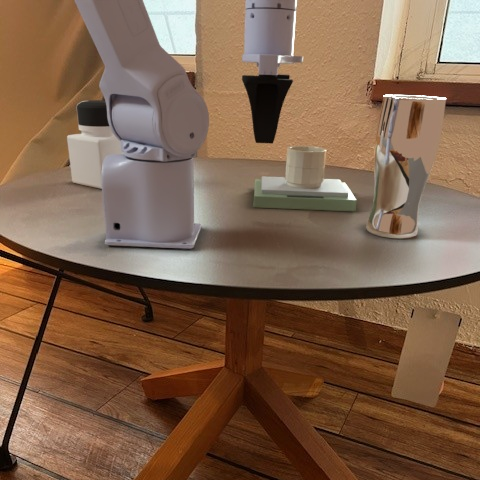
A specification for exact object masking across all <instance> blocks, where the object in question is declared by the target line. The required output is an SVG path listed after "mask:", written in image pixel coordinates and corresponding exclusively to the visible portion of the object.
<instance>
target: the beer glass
mask: <svg viewBox="0 0 480 480" xmlns="http://www.w3.org/2000/svg"><path fill="white" fill-rule="evenodd" d="M446 102H447V98H446V97H439V96H429V95H428V96H427V95H410V94H409V95H408V94H385V95H383V99H382V104H381V107H380V113H379V116H378V121H377V127H376V132H375V139H374V150H373V169H374V170H373V174H374V175H373V177H374V181H373V182H374V190H373V191H374V195H373V202H372V206H371V210H370V213H369V216H368V219H367V222H366V225H365V229H366V230H367V232H369V233H370V234H371V235H375V236H378V237H381V238H387V239H397V240H399V239H400V240H401V239H402V240H403V239H404V240H405V239H412V238H414V237H416V236H417V235H418V234H419V233H418V232H419V210H420V204H421V200H422V196H423V194H424V191H425V187H426V185H427V183H428V180H429V178H430V175H431V173H432V172H431V171H432V170H433V167H434V164H435V161H436V159H437V155H438V152H439V147H440V143H441V138H442V134H443V133H442V132H443V127H444V119H445V109H446Z"/></svg>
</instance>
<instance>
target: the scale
mask: <svg viewBox="0 0 480 480" xmlns="http://www.w3.org/2000/svg"><path fill="white" fill-rule="evenodd" d="M253 190H254V191H253V208H257V209H259V208H260V209H281V210H282V209H283V210H307V211H308V210H309V211H332V212H333V211H334V212H356V210H357V203H358V200H357V198H356V196H354V194H353V192H352V191H351V189H350V188H349V186H348V185H347V184H346V182H342V181H341V179H340V178H339V179H338V178H324V181H323V182H322V183H321V186H320V187H318V188H310V189H305V188H295V187H291V186H288V185H287V184H286V180H285V176H263V175H262V176H261V179H257V178H255V180H254V189H253Z"/></svg>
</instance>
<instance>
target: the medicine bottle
mask: <svg viewBox="0 0 480 480" xmlns="http://www.w3.org/2000/svg"><path fill="white" fill-rule="evenodd" d="M76 115H77V124H78V125H77V126H78V131H80V132H81V133H75V134H68V135H67V136H66V141H67V149H68V158H69V166H70V175H71V181H72V183H73V184H77V185H82V186H86V187H90V188H95V189H99V190H102V185H101V175H102V165H103V161H104V159H105V157H106V156H107V155H110V154H124V152H122V151H121V141H120V140H118V139H117V138H116V137H115V135H114V134H113V132H112V131H111V129H110V126H109V123H108V118H107V106H106V101H105V100H101V99H91V100H82V101H80V102H79V103H77V105H76Z"/></svg>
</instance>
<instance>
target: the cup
mask: <svg viewBox="0 0 480 480" xmlns="http://www.w3.org/2000/svg"><path fill="white" fill-rule="evenodd" d="M326 159H327V148H324V147H321V146H313V145H312V146H311V145H291V146H288V147H286V157H285V172H284V177H285V180H286V184H287V185H288V186H291V187H295V188H305V189H310V188H318V187H320V186H321V183H322V182H323V181H324V179H325V170H326V161H327V160H326Z"/></svg>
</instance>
